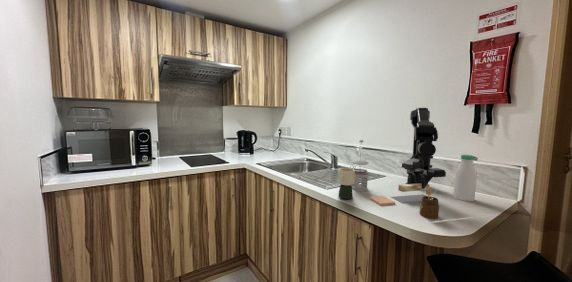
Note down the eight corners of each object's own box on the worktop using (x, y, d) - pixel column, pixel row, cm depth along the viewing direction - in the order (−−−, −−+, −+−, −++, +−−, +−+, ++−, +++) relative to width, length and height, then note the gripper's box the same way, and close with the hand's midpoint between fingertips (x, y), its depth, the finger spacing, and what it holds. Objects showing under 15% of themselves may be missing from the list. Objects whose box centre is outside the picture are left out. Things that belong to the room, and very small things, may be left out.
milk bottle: (478, 203, 99) (483, 157, 97) (457, 201, 101) (462, 156, 99) (468, 196, 107) (473, 154, 104) (449, 195, 108) (453, 153, 106)
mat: (423, 195, 108) (423, 194, 108) (437, 201, 101) (437, 200, 100) (389, 197, 104) (390, 196, 104) (402, 204, 96) (402, 203, 96)
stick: (424, 188, 105) (425, 182, 104) (429, 189, 102) (429, 184, 102) (398, 190, 101) (398, 184, 101) (402, 191, 99) (402, 186, 99)
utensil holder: (439, 216, 85) (442, 185, 84) (435, 221, 81) (438, 188, 79) (422, 211, 89) (424, 181, 88) (416, 216, 85) (419, 184, 84)
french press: (373, 190, 114) (376, 140, 111) (356, 193, 109) (358, 141, 106) (359, 185, 123) (361, 138, 120) (342, 187, 117) (344, 139, 115)
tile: (382, 195, 103) (369, 196, 101) (395, 202, 95) (380, 203, 94) (382, 199, 103) (368, 200, 102) (395, 206, 96) (380, 207, 94)
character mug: (343, 193, 110) (344, 166, 108) (357, 196, 105) (359, 168, 104) (332, 199, 101) (333, 170, 100) (347, 203, 97) (349, 173, 95)
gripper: (393, 150, 108) (390, 182, 110) (425, 157, 90) (422, 196, 92) (413, 149, 111) (410, 181, 112) (448, 156, 93) (445, 194, 94)
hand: (420, 187), depth 103 cm, fingers closed on stick, 2 cm apart
